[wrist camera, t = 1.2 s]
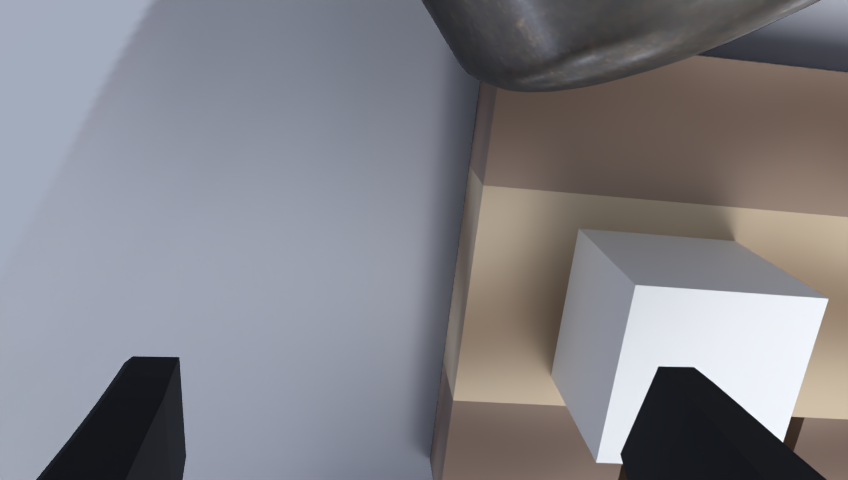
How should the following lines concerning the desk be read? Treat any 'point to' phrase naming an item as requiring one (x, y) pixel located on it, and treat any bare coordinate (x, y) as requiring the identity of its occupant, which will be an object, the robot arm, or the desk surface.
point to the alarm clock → (590, 36)
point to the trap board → (636, 213)
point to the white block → (678, 329)
